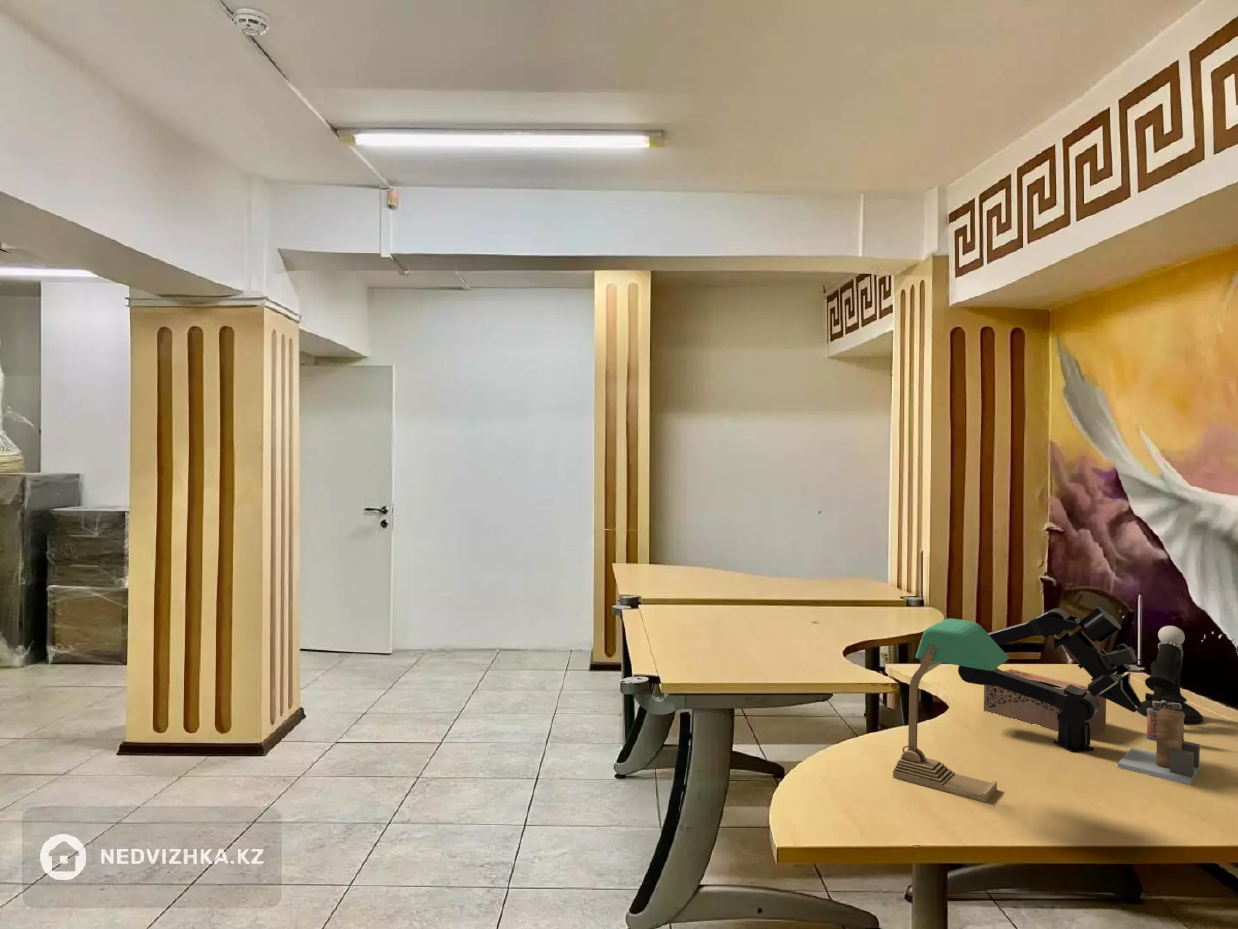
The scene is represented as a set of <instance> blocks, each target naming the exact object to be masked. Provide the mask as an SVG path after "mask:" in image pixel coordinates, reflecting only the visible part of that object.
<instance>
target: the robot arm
mask: <svg viewBox="0 0 1238 929" xmlns="http://www.w3.org/2000/svg"><path fill="white" fill-rule="evenodd" d="M1078 627H1081V628H1079V629H1078V630H1077V631H1075V632H1073V630H1075V629H1077V628H1078ZM1121 629H1122V626H1121V624H1120V623H1119V622H1118V620H1117V619H1116V618H1115V617H1114V616H1113V615H1110V613H1108V612H1107V611H1105V610H1104V609H1102V608H1101V607H1100V606H1097V607H1095V608H1094V609H1092V610H1091V612H1090V613H1088V614H1087V615H1086V616H1084V617H1083V618H1082V617H1080V616H1075V615H1073V614H1069V613H1068V612H1066V611H1065V610H1064V609H1062V608H1052V609H1050V610H1048V611H1046V612H1045V613H1043V614H1040V615H1038V616H1037V617H1035V618H1032V619H1030V620H1029V621H1025V622H1021V623H1018V624H1015V625H1012V626H1008V627H1004V628H1001V629H1000V628H999V629H998V630H994V631H991V632H990V631H989V632H987V634H988V635H989V636H990V637H991V638H992V639H993V640H994V641H995V642H996V644H997V645H998V646H999V647H1000V646H1002V645H1006V644H1010V643H1014V642H1016V641H1020V640H1025V639H1028V638H1031V637H1048V636H1055V637H1053V638H1052V639H1053V646H1052V649H1053V650H1058V649H1059V648H1060V647H1063V648H1064V649H1065V650H1066V651H1067V652H1068V654H1070V656H1072V657H1073V659H1074V660H1076V662H1077V663H1078V664H1077V666H1078V668H1079V669H1080V670H1081V669H1082V668H1083V669H1084V670H1085V671H1086V672H1087V673H1088V675H1089V676H1090V677H1091V679H1090V681H1091V682H1089V683H1088V684H1087V687H1088V689H1080V688H1078V687H1076V686H1073V685H1071V684H1069V685H1068V686H1067V687H1066V688H1065V689H1057V688H1054V687H1051V686H1048V685H1045V684H1042V683H1039V682H1036V681H1033V680H1029V679H1026V678H1023V677H1020V676H1017V675H1014V674H1011V673H1008V672H1005V671H1006V670H1002V669H999V668H998V667H997V668H996V669H994V670H992V671H989V670H982V669H977V668H971V667H965V666H959V665H958V667H957V673H958V675H959V677H960V679H961V680H962V681H963V682H965V683H968V684H974V685H980V686H984V685H993V686H997V687H1000V688H1003V689H1006V690H1009V691H1012V692H1015V693H1018V694H1021V695H1024V696H1027V697H1030V698H1033V699H1036V700H1039V701H1042V702H1045V703H1047V704H1050V705H1053V706H1055V707H1056V708H1057V709H1059V710H1060V711H1061V712H1060V713H1059V714H1058V715H1057V718H1058V733H1057V736H1058V737H1057V739H1055V740H1054V739H1053V741H1052V743H1054V744H1056V745H1057V746H1060V747H1061V748H1063V749H1065V750H1067V751H1070V752H1072V753H1073V752H1087V751H1095V748H1094V747H1093V746H1091V734H1090V730H1091V729H1090V728H1089V725H1090V723H1088V722H1086V721H1087V720H1089V719H1091V718H1092V717H1093V716H1094V715H1095V713H1096V712H1097V711H1098V709H1099V702H1098V700H1097V699H1096V697H1095V696H1096V695H1098V694H1099V693H1101V692H1102V691H1103V692H1102V693H1101V694H1100V695H1099V696H1100V697H1103V698H1106V700H1108V701H1110V702H1111V703H1113V704H1117V705H1118V706H1120V707H1122V708H1123V709H1126V710H1128V711H1130V712H1132V713H1136V712H1137V707H1140V706H1142V703H1141V702H1142V701H1141V700H1140V698H1139V697H1138V695H1137V692H1136V691H1135V690H1134V688H1133V686H1132V684H1131V679H1130V678H1131V674H1132V673H1131V672H1129V671H1131V670H1132V666H1130V665H1132V664H1134V663H1136V661H1138V658H1137V655H1136V654H1135V653H1136V650H1135V649H1133V647H1132V646H1128V645H1127V644H1126V643H1121V644H1118V645H1117V646H1116V650H1113V651H1110V652H1107V651H1106V650H1105V649H1103V648H1100V649H1099V648H1098V647H1097V646H1096V645H1095V644H1094V643H1095V642H1099V643H1103V642H1105V641H1106V640H1107V639H1109V638H1111V637H1112V636H1113V635H1114V634H1115V633H1117V632H1119V631H1120V630H1121ZM1065 631H1067V632H1066V633H1064V632H1065ZM1063 633H1064V634H1063ZM1060 634H1063V635H1062V636H1060V637H1057V636H1056V635H1060ZM1093 642H1094V643H1093ZM1127 672H1128V673H1127ZM1087 691H1089V692H1090V693H1089V692H1087Z"/></svg>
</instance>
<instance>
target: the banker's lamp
mask: <svg viewBox="0 0 1238 929" xmlns="http://www.w3.org/2000/svg"><path fill="white" fill-rule="evenodd" d="M987 633H988V632H987V631H986V630H985V629H984V628H983V627H982V626H981V625H980V624H979V623H977V622H975V621H971V620H965V619H959V618H958V619H957V618H946V619H944V620H941V621H940V622H938V623H934V624H933V625H931V626H929V627H927V628H926V629H924V631H923V634H922V636H921V639H920V642H919V645H918V649H917V652H916V654H915V658H916V659H918V660H922V661H921V662H920V666H919V667H918V668H917V670H915V672H914V673H913V675H912V677H911V679H910V682H909V692H908V694H909V695H908V737H907V738H908V740H907V741H908V742H907V743H908V745H905V746H903V747H902V753H901V756H900V758H899V759H898V761H896V764H895V767H894V768H893V770H892V778H893V777H894V778H893V779H898V780H900V779H903V780H902V781H904V780H906V781H905V782H908V783H912V784H915V785H920V786H923V785H924V786H923V787H927V788H930V787H931V789H935V790H937V789H938V791H942V792H945V791H946V792H945V793H949V792H950V793H949V794H952V795H957V796H959V797H964V798H967V797H968V798H967V799H971V800H975V801H979V802H983V803H987V802H988V801H989V800H990V799H991V798H992V796H994V794H995V793H996V792H997V791H998V781H996V780H993V781H985V780H981V779H978V778H974V777H970V776H967V775H966V776H965V775H961V774H957V773H955V771H952V768H948V766H947V765H945V763H944V762H941V761H940V760H938V759H934V758H933V759H932V758H929V757H926V756H925V754H924V752H923V751H922V750H921V749H920V748H918V720H919V719H918V714H919V712H918V711H919V708H918V706H919V704H918V703H919V686H920V682H921V680H922V678H923V677H924V675H926V674H927V673H928V672H931V671H932V670H933V669H935V668H936V667H938V666H940V665H942V664H949V665H955V666H958V667H959V666H965V667H971V668H977V669H982V670H989V671H992V670H994V669H996V668H998V667H999V666H1001V665H1003V664H1004V663H1005V662H1006V661H1007V660H1009V659H1010V657H1009V656H1008V655H1007V653H1006V652H1005V651H1004V650H1003V649H1002V648H1001V647H1000V645H999V646H998V645H997V644H996V642H995V641H994V640H993V639H992V638H991V637H990V636H989V635H988V634H987ZM907 748H908V749H907ZM905 749H907V750H906V751H905Z"/></svg>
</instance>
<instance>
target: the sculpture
mask: <svg viewBox="0 0 1238 929" xmlns="http://www.w3.org/2000/svg"><path fill="white" fill-rule="evenodd" d="M1157 636H1158V639H1159V641H1160V642H1159V643H1158V644H1157V649H1158V653H1157V656H1156V660H1155V661H1152V662H1151V664H1150V670H1151V674H1150V676H1148V677H1147V678H1145V679H1144V684H1145V686H1146V687H1147V688H1148V689H1149V690H1150V691H1152V692H1153V693H1148V692H1145V695H1144V697H1145V700H1143V701H1141V703H1142V706H1140V707H1137V706H1136V708H1137V711H1138V712H1139V713H1138V712H1137V711H1136V712H1137V713H1138V714H1140V715H1141V714H1142V715H1141V716H1144V717H1146V716H1147V708H1153V705H1152V701H1158V702H1161V701H1162V700H1164V701H1166V702H1167V703H1170V702H1172V703H1179V704H1181V705H1182V709H1176V711H1181V712H1183V713H1184V714H1185V718H1184V725H1199V724H1202V723H1203V722H1204V717H1203V715H1202V714H1201V712H1199V711H1198V710H1197V709H1196V708H1194V707H1193V706H1191V705H1190V704H1188V703H1187V702H1188V699H1187V698H1185V696H1184V695H1182V694H1181V670H1182V666H1183V664H1182V663H1183V657H1184V650H1183V645H1182V644H1183V643H1184V641H1185V639H1186V637H1185V633H1184V631H1183V630H1182V629H1181V628H1179V627H1177V626H1174V625H1165V626H1163V627H1161V628H1160V629H1159V631H1158V633H1157ZM1158 707H1159V706H1157V708H1156V709H1158ZM1169 709H1171V710H1172V708H1169Z"/></svg>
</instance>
